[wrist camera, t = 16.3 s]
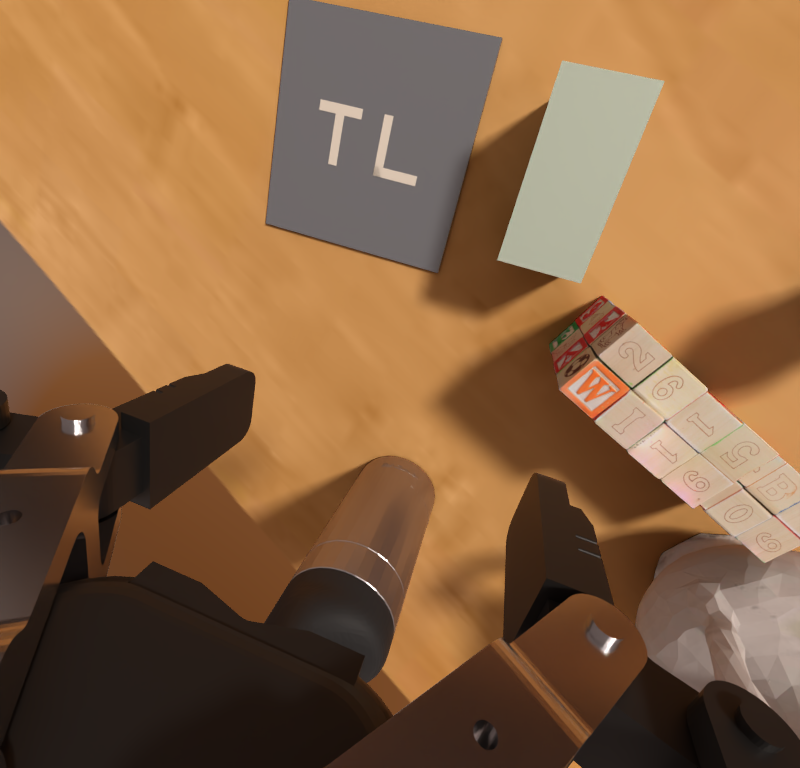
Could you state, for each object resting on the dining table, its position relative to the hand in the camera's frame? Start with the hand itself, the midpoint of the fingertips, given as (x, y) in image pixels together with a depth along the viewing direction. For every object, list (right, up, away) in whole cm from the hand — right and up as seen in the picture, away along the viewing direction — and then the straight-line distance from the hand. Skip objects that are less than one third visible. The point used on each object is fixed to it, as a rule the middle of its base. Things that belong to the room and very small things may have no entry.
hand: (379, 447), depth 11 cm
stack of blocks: (+24, 0, +27) cm, 36 cm away
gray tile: (-2, +23, +25) cm, 34 cm away
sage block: (+14, +18, +23) cm, 32 cm away
